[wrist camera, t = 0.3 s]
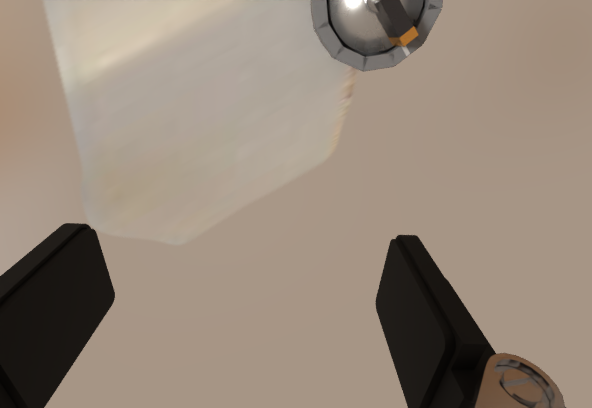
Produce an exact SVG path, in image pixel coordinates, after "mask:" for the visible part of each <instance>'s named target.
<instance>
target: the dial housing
mask: <svg viewBox="0 0 592 408" xmlns="http://www.w3.org/2000/svg"><path fill="white" fill-rule="evenodd" d="M442 2H443V0H424V1H423V6H422V9H421V12H420V15H419V17H418V19H417V21H416V23H415V25H414V27H415V29H416V31H417V33H418V36H417V37H415V38H414V39H413V40H412V41H410V42H409V43H408V44H407V45H405V46H393V47H391V48H389V49H386V50H384V51H380V52H373V53H369V52H362V51H358V50H355V49H352V48H351V47H349V46H347V45H346V44H345V43H343V41H342V40H341V39H340V38H339V37H338V36H337V34H336V33H335V31H334V29H333V27H332V24H331V22H330V18H329V13H328V0H311V13H312V20H313V27H314V29H315V30H314V31H315V32H316V34H317V35H318V37H319V39H320V41H321V43H322V44H323V46H324V47H325V48H326V49H327V51H328V52H329V54H330V55H331V57H333V58H334V59H336V60H338V61H340V62H343V63H345V64H347V65H349V66H352V67H354V68H356V69H358V70H360V71H370V70H376V69H382V68H389V67H394V66H396V65H397V64H398V63H400V62H401V61H402V60H403V59H405V58H406V57H407V56H409V55H410V54H411V53H413V52H414V51H415V50H416V49H418V48H419V47H420V46H422V44H423V43H424V42H425V40H426V38H427V36H428V34H429V32H430V30H431V28H432V27H433V25H434V23H435V21H436V19H437V17H438V15H439V13H440V11H441V9H440V8H442Z"/></svg>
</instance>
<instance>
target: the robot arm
mask: <svg viewBox="0 0 592 408" xmlns="http://www.w3.org/2000/svg"><path fill="white" fill-rule="evenodd" d="M114 298H115V292H114V289H113V286H112V282H111V279H110V276H109V272H108V269H107V266H106V263H105V260H104V256H103V253H102V250H101V246H100V243H99V240H98V237H97V234H96V231H95V230H94V229H91V227H90V226H89V225H87V224H74V223H66V224H63V225H62V226H61V227H59V228H58V229H57V230H56V231H55V232H53V233H52V234H51V235H50V236H49V237H47V238H46V239H45V240H44V241H43V242H41V243H40V244H39V245H38V246H36V247H35V248H34V249H33V250H32V251H30V252H29V253H28V254H27V255H26V256H24V257H23V258H22V259H21V260H19V261H18V262H17V263H16V264H15V265H14V266H12V267H11V268H10V269H9V270H7V271H6V272H5V273H4V274H3V275H1V276H0V408H44V407H45V406H46V404H47V402H48V401H49V400H50V398H51V397H52V395H53V394H54V392H55V391H56V389H57V387H58V386H59V384H60V383H61V381H62V380H63V378H64V377H65V375H66V374H67V372H68V371H69V369H70V368H71V366H72V365H73V363H74V362H75V360H76V359H77V357H78V356H79V354H80V353H81V351H82V350H83V348H84V347H85V345H86V344H87V342H88V340H89V339H90V337H91V336H92V334H93V333H94V331H95V330H96V328H97V327H98V325H99V323H100V322H101V321H102V319H103V317H104V316H105V315H106V313H107V312H108V310H109V308H110V307H111V306H112V304H113V302H114ZM376 309H377V313H378V316H379V319H380V322H381V325H382V329H383V332H384V334H385V338H386V341H387V344H388V347H389V350H390V353H391V356H392V359H393V362H394V366H395V369H396V372H397V375H398V378H399V381H400V384H401V387H402V390H403V393H404V396H405V399H406V402H407V406H408V408H566V407H565V405H564V400H563V396H562V394H561V392H560V391H559V388H558V387H557V385H556V384H555V383H554V382H553V380H552V379H551V378H550V377H549V376H548V375H547V374H546V373H545V372H543V371H542V370H541V369H540V368H539V367H537V366H536V365H534V364H533V363H531V362H529V361H528V360H526V359H524V358H521V357H519V356H516V355H512V354H507V353H500V354H496V353H495V351H494V350H493V348H492V347H491V345H490V344H489V342H488V341H487V339H486V338H485V336H484V335H483V333H482V331H481V330H480V329H479V327H478V325H477V324H476V322H475V321H474V319H473V318H472V316H471V315H470V313H469V312H468V310H467V309H466V307H465V306H464V304H463V303H462V301H461V300H460V298H459V297H458V295H457V294H456V292H455V291H454V289H453V287H452V286H451V284H450V283H449V282H448V280H447V279H446V278H445V277H444V276H443V274H442V273H441V271H440V270H439V268H438V267H437V265H436V264H435V262H434V261H433V259H432V258H431V256H430V255H429V253H428V251H427V250H426V248H425V247H424V245H423V244H422V242H421V241H420V239H419V238H418V237H417V236H415V235H398V236H397V237H396V239H392V240H391V242H390V246H389V249H388V253H387V258H386V261H385V265H384V269H383V273H382V277H381V281H380V285H379V289H378V293H377V297H376Z"/></svg>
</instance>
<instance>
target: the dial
mask: <svg viewBox="0 0 592 408" xmlns="http://www.w3.org/2000/svg"><path fill="white" fill-rule="evenodd" d="M423 1H424V0H328V13H329V18H330V22H331V24H332V27H333V29H334V31H335V33H336V34H337V36H338V37H339V38H340V39H341V40H342V41H343V43H345V44H346V45H347V46H349V47H351V48H352V49H355V50H358V51H362V52H369V53H373V52H380V51H384V50H386V49H389V48H391V47H393V46H405V45H407V44H408V43H409V42H410V41H412V40H413V39H414V38H415V37H417V36H418V33H417V31H416V29H415V27H414V25H415V23H416V21H417V19H418V17H419V15H420V12H421V9H422V6H423Z"/></svg>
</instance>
